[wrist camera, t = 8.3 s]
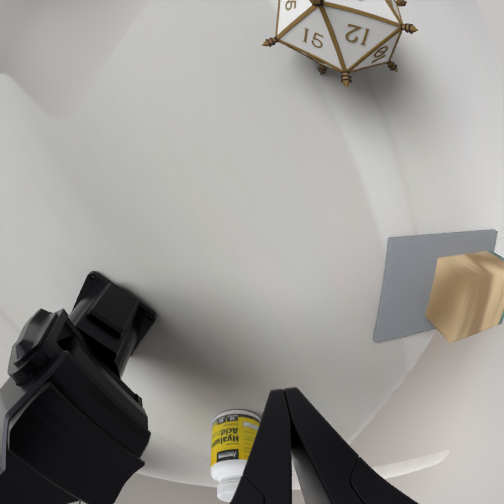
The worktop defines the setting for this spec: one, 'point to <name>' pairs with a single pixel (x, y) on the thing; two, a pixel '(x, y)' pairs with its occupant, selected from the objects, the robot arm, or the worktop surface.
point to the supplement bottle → (231, 449)
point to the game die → (341, 32)
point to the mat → (418, 278)
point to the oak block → (467, 294)
